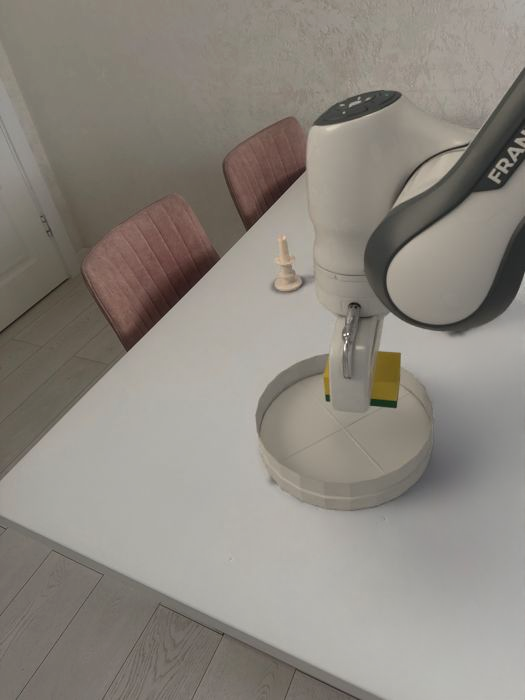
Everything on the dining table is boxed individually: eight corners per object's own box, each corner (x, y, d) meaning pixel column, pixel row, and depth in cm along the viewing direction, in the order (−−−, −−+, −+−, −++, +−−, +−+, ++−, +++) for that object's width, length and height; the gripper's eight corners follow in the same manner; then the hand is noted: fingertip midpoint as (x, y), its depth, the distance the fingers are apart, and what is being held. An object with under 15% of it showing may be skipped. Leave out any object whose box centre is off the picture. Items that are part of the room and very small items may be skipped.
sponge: (400, 377, 59) (401, 352, 56) (396, 408, 55) (397, 383, 53) (332, 372, 61) (330, 347, 59) (325, 401, 58) (323, 376, 55)
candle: (307, 284, 94) (301, 234, 87) (284, 295, 92) (276, 244, 85) (292, 273, 97) (286, 224, 91) (270, 283, 96) (261, 234, 89)
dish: (232, 419, 70) (225, 394, 67) (362, 356, 76) (361, 330, 73) (317, 545, 54) (313, 520, 51) (473, 453, 60) (478, 425, 57)
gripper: (383, 347, 40) (382, 455, 49) (401, 228, 55) (398, 327, 63) (306, 343, 42) (319, 447, 51) (344, 228, 57) (348, 324, 65)
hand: (363, 379), depth 57 cm, fingers closed on sponge, 5 cm apart
